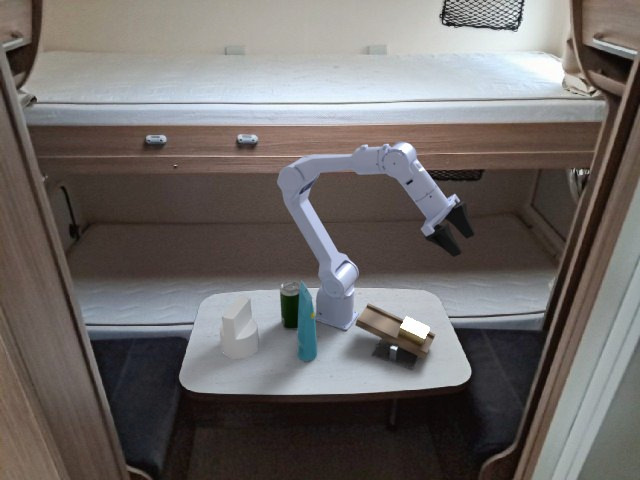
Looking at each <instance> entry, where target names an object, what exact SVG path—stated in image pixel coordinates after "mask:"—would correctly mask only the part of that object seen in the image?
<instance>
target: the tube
mask: <svg viewBox="0 0 640 480" xmlns="http://www.w3.org/2000/svg"><path fill="white" fill-rule="evenodd" d="M299 284H300V293H299V309H298V329H297V334H296V335H297V338H296V345H297V346H296V356H297V358H298V359H299V360H301V361H303V362H311V361H313V360H315V359H316V358H317V357H318V343H317V342H318V341H317V329H316V327H317V326H316V325H317V324H316V320H315V317H316V313H315V308H314V303H313V295H312V293H311V292H310V291H309V289H308V287H307V285H306V284H305V283H304V282H303V281H302V279H300V283H299Z"/></svg>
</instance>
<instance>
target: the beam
mask: <svg viewBox="0 0 640 480" xmlns="http://www.w3.org/2000/svg"><path fill="white" fill-rule="evenodd" d="M404 320H405V319H403V318H402V317H399V316H397V315H395V314H393V313H390V312H388V311H386V310H384V309H381V308H380V307H378V306H376V305H373V304H371V303H367V304H366V307H365V308H364V309H363V311H362V312H361V313H360V315H359V317H358V316H357V317H356V321H355V325H354V326H355V327H358V328H359V329H362V330H363V331H366V332H369V333H370V334H371V335H375V336H377V337H379V338H380V339H381V338H382V339H384V340H386V341H388V342H390V343H392V344H394V345H396V346H399V347H401V348H403V349H405V350H407V351H409V352H411V353H413V354H415V355H417V356H419V357H420V358H422V359H424V360H425V359H426V358H427V355H428V352H429V350H430V348H431V347H432V343H433V341H434V339H435V337H436V334H435V333H434V332H431V331H430V330H429V331H428V334H427V336H426V338H425V340H424V342H423V344H422V347H419V346H417V345H415V344H413V343H411V342H409V341H407V340H405V339H403V338H400V337H398V333H399V330H400V328H401V326H402V324H403V322H404ZM419 357H418V358H419Z"/></svg>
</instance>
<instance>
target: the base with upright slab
mask: <svg viewBox="0 0 640 480" xmlns="http://www.w3.org/2000/svg"><path fill="white" fill-rule="evenodd" d="M252 311H253V310H252V302H251V297H249V296H247V295H238V297H237V298H236V299H235V300H234V301H233V302H232V303H231V305H230V306H229V307H228V308H227V309H226V310H225V311H224V313H223V314H221V324H220V325H219V329H218V330H219V336H220V343H221V344H220V345H221V350H222V353H223V352H224V353H223V354H224V355H225V356H226V357H227V356H228V357H227V358H229V357H230V359H232V358H234V360H242V359H243V360H244V359H247V358H249V357H251V356H253V355H254V354H256V353H257V351H258V349H259V348H260V340H259V339H260V338H259V328H258V323H257V321H256V319H255V318H253V312H252Z"/></svg>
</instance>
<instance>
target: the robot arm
mask: <svg viewBox="0 0 640 480" xmlns="http://www.w3.org/2000/svg"><path fill="white" fill-rule="evenodd" d="M351 170H352V171H354V172H355V174H357V175H360V176H361V175H363V176H364V175H382V174H384V175H385V174H386V175H387V176H389V177H391V178H394V179H396V180H397V182H398V183H399V184H400V185H401V186H402V188H403V189H404V190H405V191H406V193H407V194H408V196H409V197H410V198H411V199H412V201H413V202H414V203H415V205H416V207H417V208H418V209H419V210H420V211H421V214H423V215H424V217H425V221H424V223H423V226H421V228H420V231H421V232H422V233H423V234H424V236H423V238H424V239H425V241H428V242H431V243H432V244H435V245H436V246H438V247H440V248H441V249H442V250H444V251H445V252H446V253H448V254H449V255H450V256H452V257H453V258H455V257H457V256H459V255H461V254H462V253H463V251H462V248H461V246H460V245H459V244H458V241H456V239H455V237H454V235H453V233H452V230H451V227H450V224H451V225H452V226H454V227H455V228H456V230H457V231H459V233H460V234H461V235H462V236H463V237H464V238H465V239H469V238H472V237H473V236H475V235H476V233H475V230H474V228H473V225H472V223H471V220H470V218H469V213H468V209H467V208H468V207H467V203H466V202H465V201H464V200H463V201H461V200H460V199H459V196H457V194H456V193H454V194H452V195H451V196H449V197H446V196H445V194H444V193H443V192H442V190H441V188H440V187H439V186H438V185H437V183H436V182H435V181H434V179H433V178H432V177H431V175H430V174H429V173H428V171H427V170H426V169H425V168H424V166H423V165H422V164H421V162H420V161H419V159H418V153H417V150H416V148H415V146H414V145H412V144H411V143H409V142H406V141H405V142H403V141H398V142H396V143H394V144H393V145H392V146H390V144H389V143H384V144H383V145H382V146H371V147H369V145H368V144H362V145H361V146H359V147H357V148H356V149H355V150H354V152H353V153H349V154H347V153H345V154H343V153H341V154H340V153H339V154H334V153H333V154H318V153H317V154H316V153H314V154H310V155H304V156H301V157H300V158H299V159H297V160H295V161H294V162H292V163H291V164H289V165H287V166H285V167H282V168H281V169H280V170H279V174H278V177H277V181H276V183H277V186H278V188H280V191H281V195H282V198H283V199H282V200H283V203H284V205H285V207H286V208H287V210H288V212H289V213H290V215H291V217H292V219H293V221H294V222H295V224H296V226H297V228H298V229H299V231H300V232H301V234H302V236H303V238H304V239H305V241H306V242H307V245H308V246H309V248H310V250H311V251H312V253H313V255H314V256H315V258H316V260H317V261H318V263H319V267H318V273H317V275H318V276H317V277H318V278H319V280H320V282H321V283H320V284H321V285H320V286H319V287H318V290H317V292H316V293H317V294H316V298H315V322H316V321H317V322H320V323H323V324H326V325H327V326H328V325H329V326H332V327H335V328H338V329H341V330H344V331H348V330H349V329H350V327H351V326H352V325H353V323H354V322H355V320H357V318H358V315H359V314H360V312H359V311H358V310H357V311H356V310H354V306H355V305H354V304H355V281H356V280H358V278H359V275H360V274H359V273H360V272H359V268H358V266H357V265H356V264H355V263H354V262H353V261H352V260H351V259H350V258H349V257H348V255H347V254H345V253H342V252H339V251H338V249H337V247H336V245H335V244H334V242H333V240H332V238H331V237H330V235H329V233H328V232H327V230H326V228H325V226H324V225H323V223H322V221H321V220H320V218H319V216H318V215H317V214H318V213H316V211H315V209H314V208H313V206H312V204H311V202H310V200H309V196H310V192H311V188H312V186H313V185H314V184H315V182H316V181H317V179H318V178H319V176H320V174H321V173H329V172H330V173H331V172H341V171H351ZM444 219H445V220H446V221H448V223H446V224H443V225H442V224H441V223H442V222H443V220H444Z"/></svg>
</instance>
